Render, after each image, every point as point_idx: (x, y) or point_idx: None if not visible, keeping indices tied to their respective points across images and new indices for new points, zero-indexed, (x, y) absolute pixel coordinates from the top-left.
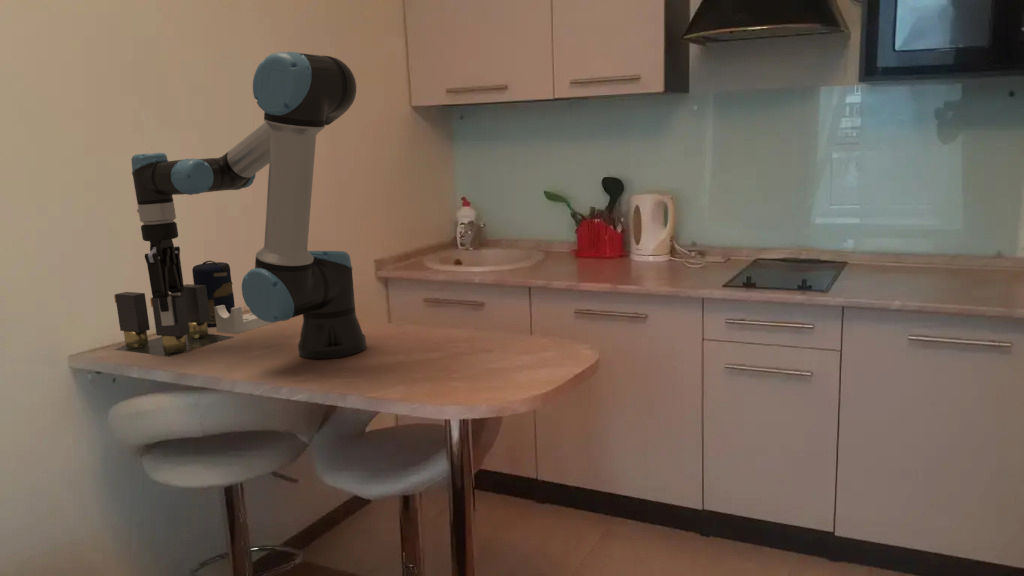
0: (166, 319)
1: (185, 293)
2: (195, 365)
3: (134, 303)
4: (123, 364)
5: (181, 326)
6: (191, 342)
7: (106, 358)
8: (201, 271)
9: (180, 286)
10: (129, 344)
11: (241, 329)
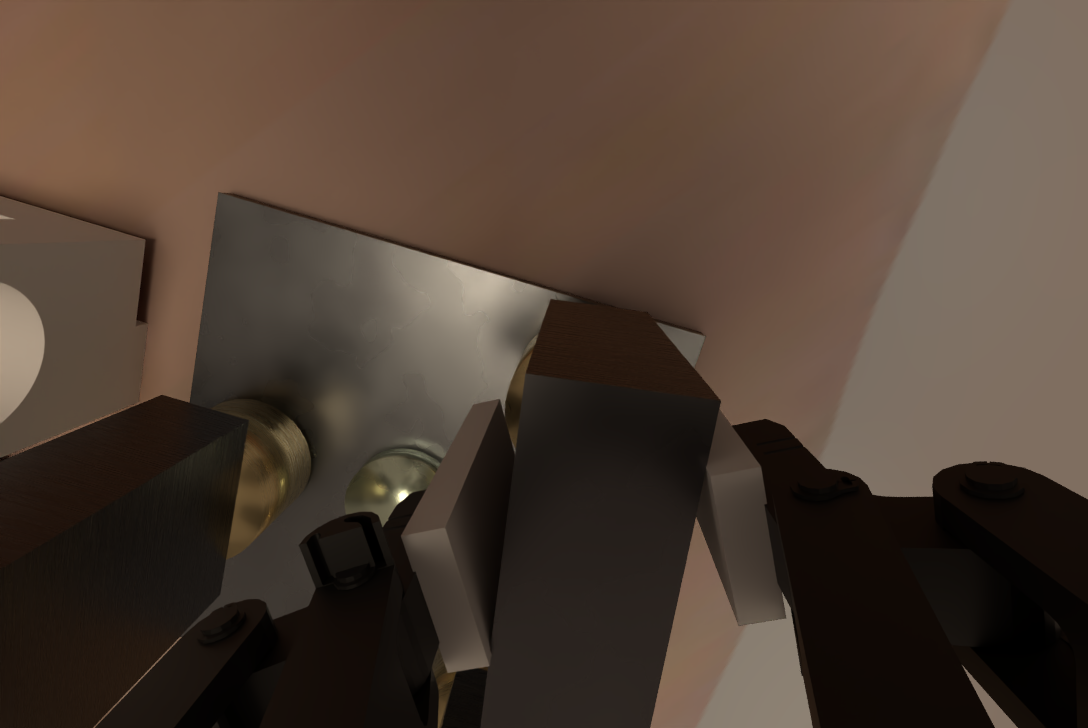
0: None
1: (40, 693)
2: (831, 66)
3: None
4: None
5: (629, 319)
6: (385, 406)
7: (663, 700)
8: None
9: (268, 631)
10: None
11: (83, 226)
